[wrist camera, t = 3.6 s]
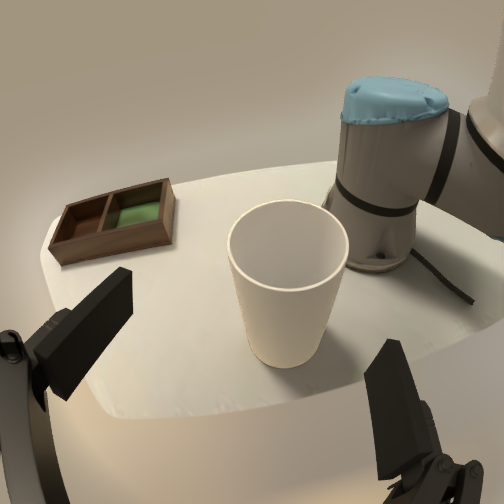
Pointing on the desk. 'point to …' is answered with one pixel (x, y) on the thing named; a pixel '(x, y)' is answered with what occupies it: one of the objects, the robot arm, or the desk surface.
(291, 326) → the cup
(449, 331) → the desk surface
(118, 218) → the holder
